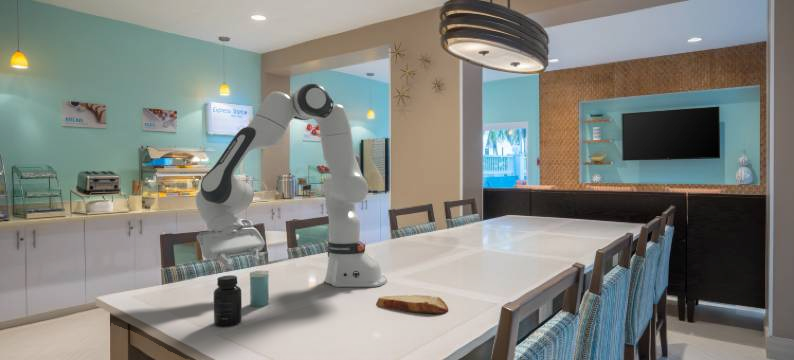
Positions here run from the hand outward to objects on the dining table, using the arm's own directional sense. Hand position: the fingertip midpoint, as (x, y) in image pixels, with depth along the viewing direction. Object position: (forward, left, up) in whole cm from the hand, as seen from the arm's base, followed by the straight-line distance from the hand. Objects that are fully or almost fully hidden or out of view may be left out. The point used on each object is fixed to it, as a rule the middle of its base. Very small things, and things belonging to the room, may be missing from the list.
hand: (244, 264), depth 139 cm
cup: (-7, +3, -11) cm, 13 cm away
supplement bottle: (-7, +20, -11) cm, 24 cm away
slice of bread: (-52, -3, -12) cm, 53 cm away
